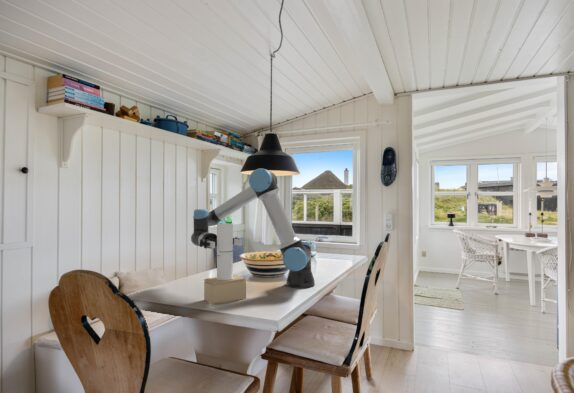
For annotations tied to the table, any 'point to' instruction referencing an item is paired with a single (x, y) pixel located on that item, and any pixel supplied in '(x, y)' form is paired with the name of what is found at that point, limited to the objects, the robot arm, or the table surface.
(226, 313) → the table surface
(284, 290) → the table surface
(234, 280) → the lid
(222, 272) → the cylindrical container
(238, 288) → the box
